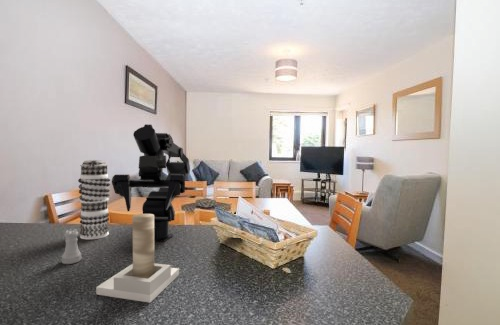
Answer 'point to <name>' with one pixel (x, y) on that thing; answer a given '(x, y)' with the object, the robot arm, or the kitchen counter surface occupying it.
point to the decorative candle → (94, 199)
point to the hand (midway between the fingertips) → (147, 210)
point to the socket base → (138, 284)
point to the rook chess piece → (71, 248)
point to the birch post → (143, 245)
